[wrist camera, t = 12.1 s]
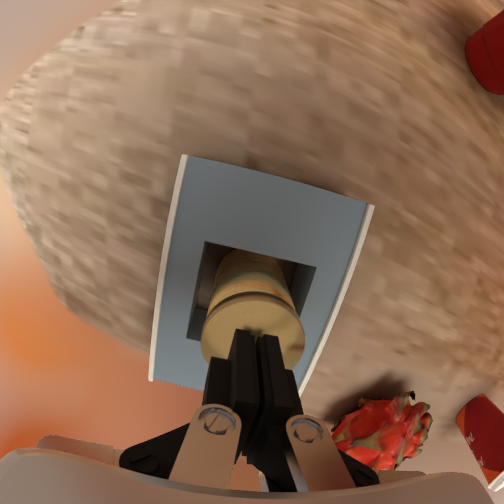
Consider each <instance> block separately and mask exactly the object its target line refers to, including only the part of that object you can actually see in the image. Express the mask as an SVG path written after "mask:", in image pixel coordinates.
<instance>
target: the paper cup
mask: <svg viewBox="0 0 504 504" xmlns="http://www.w3.org/2000/svg"><path fill="white" fill-rule="evenodd" d="M456 423H457V425H458V427H459V429H460V431H461V432H462V434H463V436H464V438H465V440H466V441H467V443H468V445H469V447H470V449H471V451H472V452H473V454H474V456H475V458H476V460H477V462H478V464H479V466H480V468H481V470H482V472H483V474H484V475H485V478H486V479H487V481H488V484H489V486H488V488H489V489H490V488H491V489H492V490H493V491H494V492H496V491H498V490H499V489H501V488H502V487H503V486H504V414H503V413H502V412H501V411H500V410H499V408H498V407H497V406H496V405H495V404H494V403H493V402H492V401H491V400H489V399H488V398H487V397H486V396H485V395H483V394H482V395H479V396H477V397H475V398H474V399H472V400H471V401H470V402H469V403H467V404H466V405H465V406H464V408H463V409H462V410H461V411H460V412H459V414H458V416H457V418H456Z"/></svg>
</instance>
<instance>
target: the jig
mask: <svg viewBox="0 0 504 504" xmlns="http://www.w3.org/2000/svg"><path fill="white" fill-rule="evenodd" d="M374 207H375V206H374V205H371V204H368V203H365V202H362V201H359V200H356V199H353V198H350V197H347V196H344V195H341V194H337V193H334V192H331V191H328V190H324V189H321V188H318V187H314V186H311V185H308V184H304V183H301V182H297V181H294V180H290V179H286V178H283V177H279V176H275V175H272V174H268V173H264V172H260V171H256V170H252V169H248V168H244V167H240V166H235V165H231V164H227V163H222V162H218V161H213V160H209V159H204V158H199V157H195V156H190V155H185V154H182V156H181V160H180V164H179V169H178V173H177V177H176V182H175V187H174V191H173V196H172V201H171V206H170V211H169V217H168V222H167V228H166V233H165V239H164V245H163V251H162V257H161V264H160V271H159V278H158V285H157V293H156V301H155V309H154V318H153V328H152V338H151V349H150V364H149V381H152V382H153V380H154V379H156V380H160V381H164V382H168V383H171V384H175V385H179V386H184V387H188V388H192V389H197V390H202V391H204V388H205V382H206V377H207V372H208V367H209V365H208V363H207V362H206V360H205V359H204V356H203V354H202V350H201V334H202V330H203V326H204V322H205V319H206V317H207V313H208V310H204V309H200V308H196V301H197V296H198V291H199V286H200V281H201V276H202V272H203V267H204V262H205V257H206V253H207V248H208V243H209V242H212V243H216V244H220V245H224V246H229V247H233V248H237V249H242V250H246V251H250V252H254V253H259V254H263V255H267V256H271V257H276V258H280V259H284V260H289V261H293V262H297V266H296V270H295V273H294V276H293V279H292V282H291V285H290V288H289V293H290V296H291V299H292V302H293V304H294V307H295V310H296V312H297V314H298V316H299V318H300V321H301V324H302V327H303V330H304V333H305V348H304V352H303V355H302V357H301V359H300V360H299V362H298V363H297V365H296V366H295V367H294V368H293V369H292V371H293V373H294V376H295V381H296V385H297V389H298V393H299V397H300V396H301V394H302V392H303V390H304V388H305V386H306V384H307V382H308V380H309V378H310V375H311V373H312V371H313V369H314V367H315V365H316V363H317V360H318V358H319V356H320V354H321V352H322V349H323V347H324V345H325V343H326V340H327V338H328V336H329V333H330V331H331V329H332V326H333V324H334V321H335V319H336V316H337V314H338V311H339V309H340V306H341V304H342V301H343V299H344V296H345V294H346V291H347V288H348V286H349V283H350V280H351V278H352V275H353V272H354V269H355V266H356V264H357V261H358V258H359V255H360V252H361V249H362V246H363V243H364V240H365V237H366V234H367V230H368V227H369V224H370V221H371V218H372V214H373V211H374Z"/></svg>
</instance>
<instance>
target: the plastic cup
mask: <svg viewBox="0 0 504 504" xmlns="http://www.w3.org/2000/svg"><path fill="white" fill-rule="evenodd" d="M465 52H466V58H467V61H468V64H469V66H470V68H471V71H472V72H473V74H474V76H475V77H476V79H477V80H478V82H479V83H480V84H481V85H482V86H483V87H484V88H485V89H486V90H488V91H490V92H491V93H496V94H498V95H504V10H503V11H501V12H500V13H499V14H497V15H496V16H495V17H494V18H492V19H491V20H490V21H488V22H487V23H486V24H485V25H483V27H482V28H481V29H479V30H478V31H477V32H475V33H474V34H473V35H472V36H470V37H469V39H468V40H467V41H466V45H465Z"/></svg>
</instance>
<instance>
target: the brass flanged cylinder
mask: <svg viewBox="0 0 504 504" xmlns="http://www.w3.org/2000/svg"><path fill="white" fill-rule="evenodd" d="M236 328H237V329H242V330H247V331H250V335H254V336H255V343H256V340H257V338H258V336H260V337H262V336H263V334H269V335H274V336H278V338H279V343H280V347H281V352H282V357H283V361H284V366H285V369H289V370H292V369H293V368H294V367H295V366H296V365H297V363H298V362H299V360H300V359H301V357H302V355H303V352H304V348H305V333H304V330H303V327H302V324H301V321H300V318H299V316H298V314H297V312H296V310H295V307H294V304H293V302H292V299H291V296H290V293H289V290H288V288H287V285H286V282H285V279H284V276H283V274H282V271H281V268H280V265H279V263H278V262H277V260H276V259H275V258H274V257H271V256H267V255H263V254H259V253H254V252H250V251H246V250H242V249H235V250H233V251H231V252H230V253H229V254H227V255H226V256H225V257H224V258H223V260H222V261H221V263H220V264H219V266H218V269H217V273H216V278H215V282H214V286H213V291H212V295H211V299H210V304H209V308H208V313H207V317H206V319H205V322H204V326H203V330H202V334H201V350H202V354H203V356H204V359H205V360H206V362H207V363H208V365H209V363H210V359H211V356H213V357H218V358H223V359H228V355H229V351H230V347H231V344H232V340H233V336H234V333H235V330H236Z"/></svg>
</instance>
